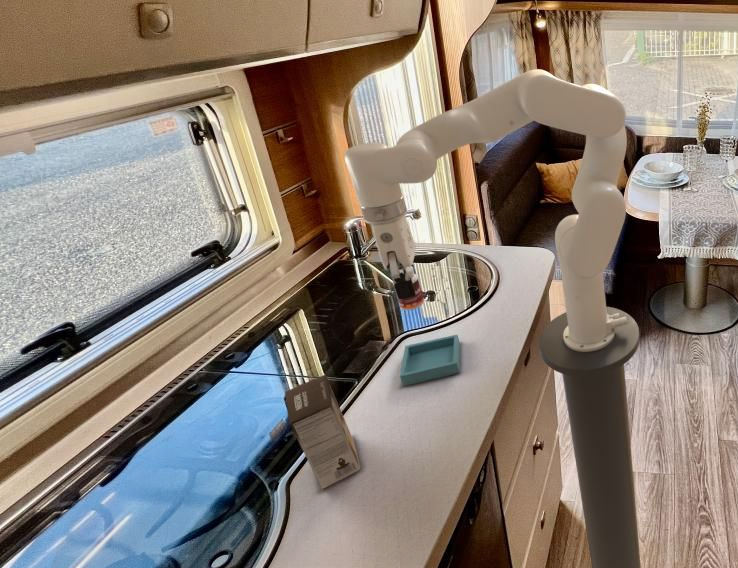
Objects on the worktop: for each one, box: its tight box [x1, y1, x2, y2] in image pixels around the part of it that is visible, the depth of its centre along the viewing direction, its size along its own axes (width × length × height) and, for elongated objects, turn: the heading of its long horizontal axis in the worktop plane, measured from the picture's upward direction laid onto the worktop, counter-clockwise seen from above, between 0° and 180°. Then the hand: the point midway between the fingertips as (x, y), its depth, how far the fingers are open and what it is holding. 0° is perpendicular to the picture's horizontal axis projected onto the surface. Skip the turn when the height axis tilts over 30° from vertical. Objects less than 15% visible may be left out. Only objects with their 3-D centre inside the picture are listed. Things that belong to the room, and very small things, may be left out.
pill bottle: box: [392, 266, 425, 311], centre depth 102 cm, size 5×5×8 cm
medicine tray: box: [399, 334, 461, 387], centre depth 112 cm, size 12×11×3 cm
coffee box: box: [284, 374, 361, 489], centre depth 87 cm, size 9×6×16 cm
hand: (408, 289), depth 102 cm, fingers closed on pill bottle, 4 cm apart
